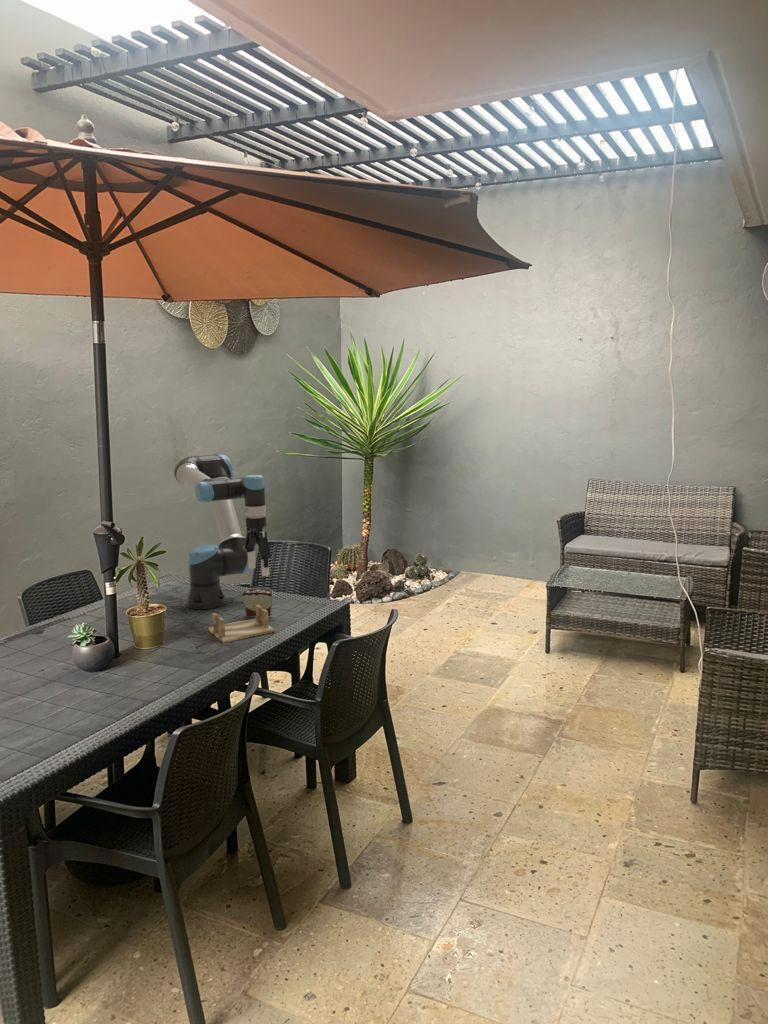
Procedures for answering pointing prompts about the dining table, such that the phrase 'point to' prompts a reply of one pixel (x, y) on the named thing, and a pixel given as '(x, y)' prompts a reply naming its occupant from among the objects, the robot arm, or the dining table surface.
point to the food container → (257, 600)
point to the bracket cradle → (241, 627)
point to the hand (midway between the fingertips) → (258, 572)
